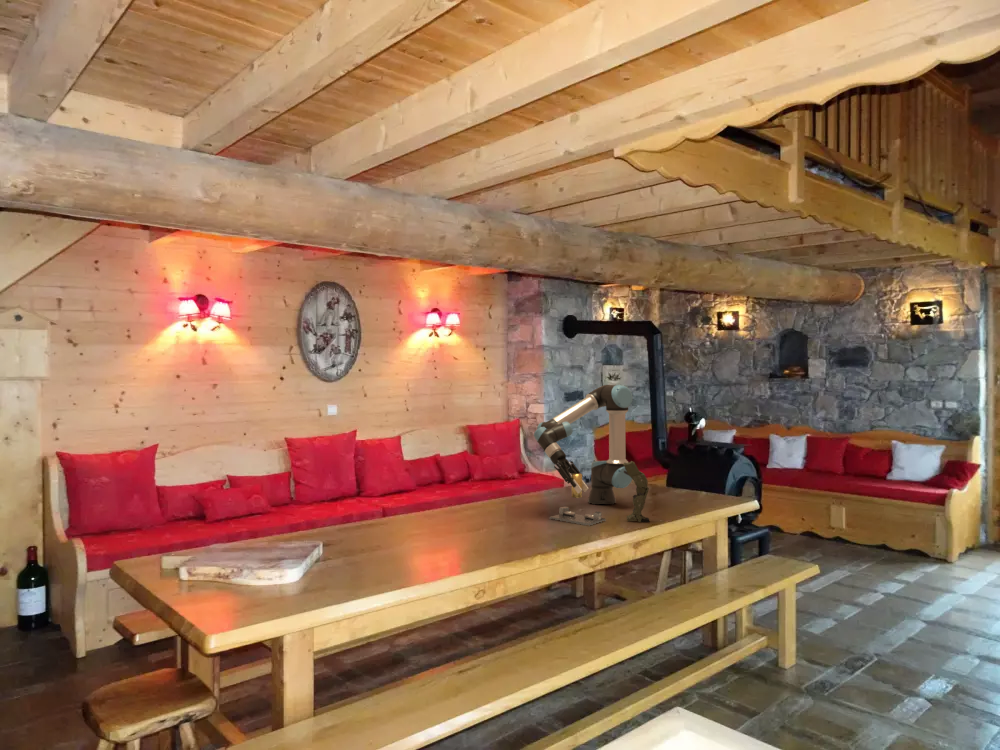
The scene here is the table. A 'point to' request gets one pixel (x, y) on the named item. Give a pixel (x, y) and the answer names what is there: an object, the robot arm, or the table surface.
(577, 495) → the orange glossy cylinder
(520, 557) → the table surface
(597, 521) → the bed plate
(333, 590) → the table surface
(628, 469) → the mechanical leg
